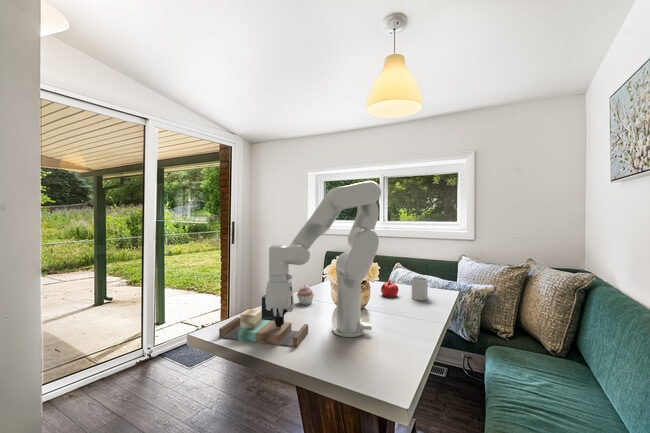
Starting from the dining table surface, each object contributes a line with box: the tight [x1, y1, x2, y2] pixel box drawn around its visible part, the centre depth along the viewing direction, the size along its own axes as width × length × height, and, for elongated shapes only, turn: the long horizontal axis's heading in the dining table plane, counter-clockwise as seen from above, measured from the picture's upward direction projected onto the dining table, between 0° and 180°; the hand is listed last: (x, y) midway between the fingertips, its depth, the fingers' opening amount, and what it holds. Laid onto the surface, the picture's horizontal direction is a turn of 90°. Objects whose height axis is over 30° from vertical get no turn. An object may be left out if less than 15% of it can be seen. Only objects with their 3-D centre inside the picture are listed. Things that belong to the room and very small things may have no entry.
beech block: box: [239, 308, 262, 329], centre depth 118 cm, size 6×6×5 cm
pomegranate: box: [380, 279, 399, 298], centre depth 175 cm, size 10×10×9 cm
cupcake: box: [296, 284, 315, 306], centre depth 159 cm, size 9×9×10 cm
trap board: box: [218, 316, 309, 348], centre depth 117 cm, size 31×13×4 cm, turn 76°
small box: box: [261, 294, 280, 321], centre depth 137 cm, size 11×6×10 cm, turn 168°
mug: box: [411, 276, 429, 301], centre depth 171 cm, size 12×8×11 cm
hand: (279, 325), depth 116 cm, fingers closed
